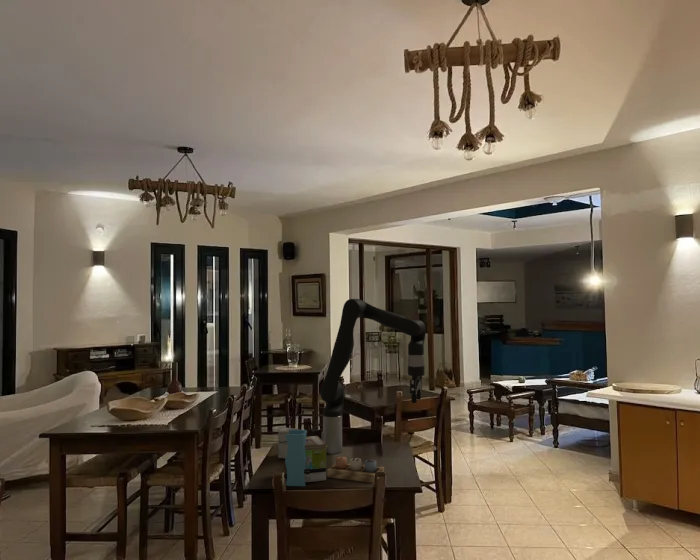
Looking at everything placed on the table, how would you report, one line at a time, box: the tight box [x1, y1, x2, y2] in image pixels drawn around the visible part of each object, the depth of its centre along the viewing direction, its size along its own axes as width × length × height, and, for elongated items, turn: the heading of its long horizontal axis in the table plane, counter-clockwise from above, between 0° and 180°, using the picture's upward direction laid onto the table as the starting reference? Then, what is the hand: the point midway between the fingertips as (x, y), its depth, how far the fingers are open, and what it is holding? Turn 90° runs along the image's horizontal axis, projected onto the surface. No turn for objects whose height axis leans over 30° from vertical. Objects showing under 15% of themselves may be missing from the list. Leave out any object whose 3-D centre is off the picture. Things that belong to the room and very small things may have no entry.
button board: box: [326, 462, 385, 484], centre depth 221 cm, size 21×11×3 cm, turn 69°
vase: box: [284, 429, 308, 487], centre depth 213 cm, size 8×8×20 cm
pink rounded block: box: [334, 456, 348, 470], centre depth 223 cm, size 5×5×4 cm
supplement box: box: [277, 427, 300, 460], centre depth 249 cm, size 7×7×13 cm
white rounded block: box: [349, 457, 363, 471], centre depth 221 cm, size 5×5×4 cm
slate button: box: [364, 459, 377, 473], centre depth 218 cm, size 5×5×4 cm
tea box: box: [304, 435, 327, 483], centre depth 221 cm, size 15×10×15 cm, turn 18°
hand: (416, 401), depth 239 cm, fingers open, 8 cm apart
